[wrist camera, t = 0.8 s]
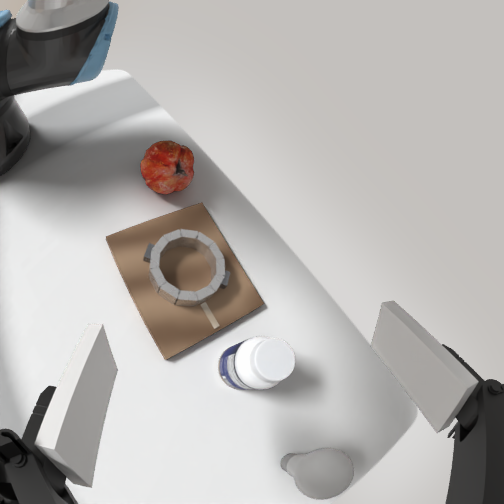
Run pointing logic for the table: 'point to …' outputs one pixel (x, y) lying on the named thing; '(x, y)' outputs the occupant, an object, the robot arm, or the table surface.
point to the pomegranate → (167, 167)
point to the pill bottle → (256, 363)
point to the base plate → (181, 280)
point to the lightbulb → (320, 472)
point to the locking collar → (200, 245)
